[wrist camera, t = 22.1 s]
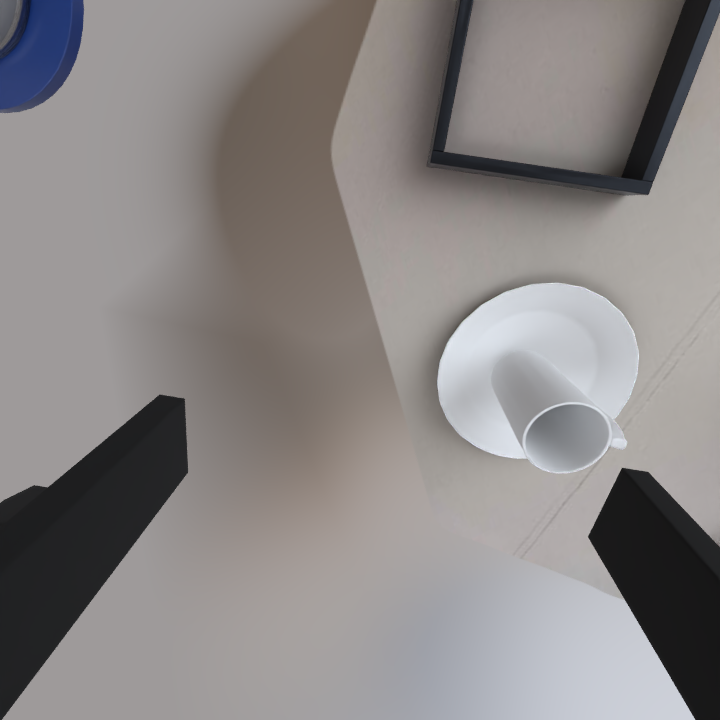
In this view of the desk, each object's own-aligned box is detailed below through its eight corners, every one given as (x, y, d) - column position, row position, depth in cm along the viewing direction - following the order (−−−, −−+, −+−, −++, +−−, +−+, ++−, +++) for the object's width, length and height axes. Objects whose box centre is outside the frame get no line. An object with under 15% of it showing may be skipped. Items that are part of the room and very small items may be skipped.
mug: (479, 396, 43) (509, 463, 32) (500, 340, 40) (541, 393, 29) (566, 416, 43) (627, 490, 32) (593, 362, 40) (669, 422, 29)
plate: (410, 420, 47) (411, 430, 45) (478, 252, 39) (482, 255, 37) (568, 467, 48) (576, 479, 46) (666, 312, 40) (681, 318, 38)
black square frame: (426, 166, 37) (430, 163, 34) (473, -91, 30) (483, -127, 27) (625, 195, 36) (648, 194, 33) (719, -58, 29) (760, -90, 26)
